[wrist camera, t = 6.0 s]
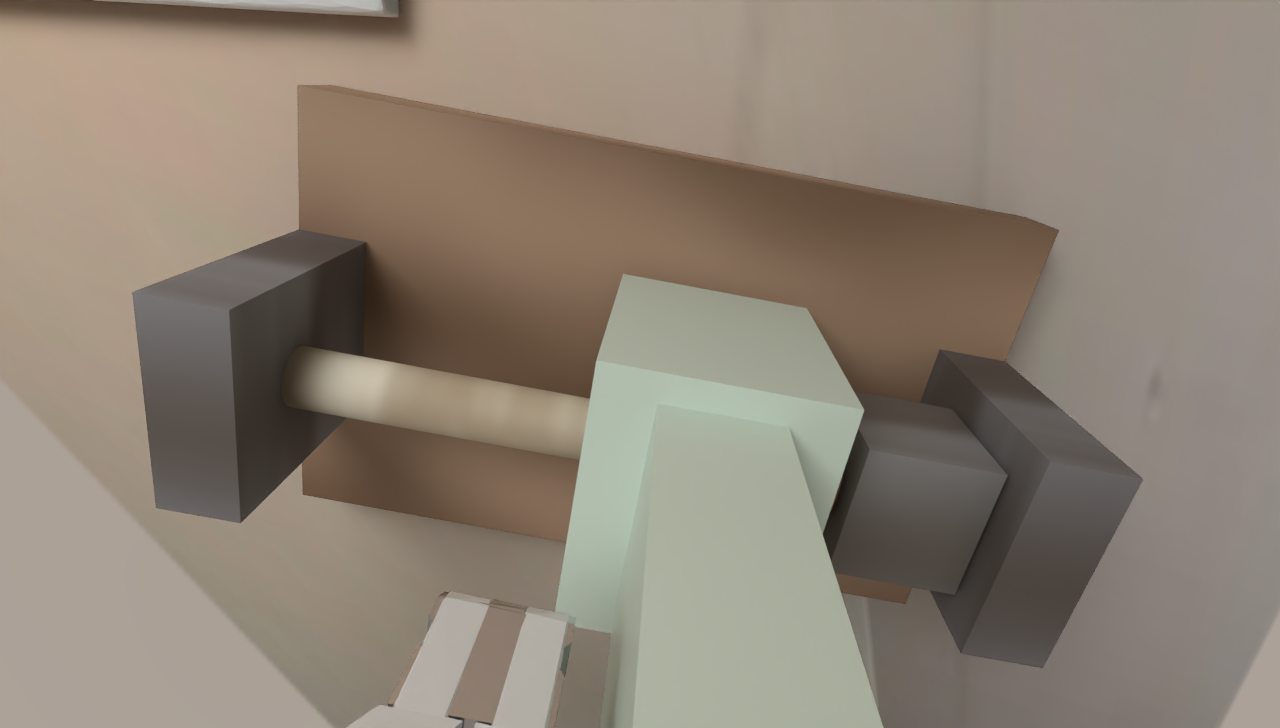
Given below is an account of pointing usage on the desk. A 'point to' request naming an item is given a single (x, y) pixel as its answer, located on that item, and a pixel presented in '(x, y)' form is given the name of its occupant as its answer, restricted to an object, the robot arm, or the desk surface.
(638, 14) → the desk surface
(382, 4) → the external hard drive
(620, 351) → the mint green stepped block
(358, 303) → the rod rail stand
